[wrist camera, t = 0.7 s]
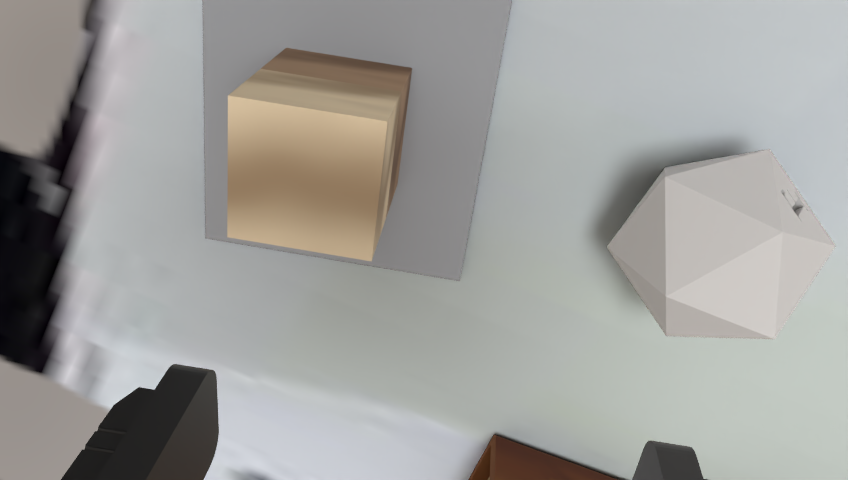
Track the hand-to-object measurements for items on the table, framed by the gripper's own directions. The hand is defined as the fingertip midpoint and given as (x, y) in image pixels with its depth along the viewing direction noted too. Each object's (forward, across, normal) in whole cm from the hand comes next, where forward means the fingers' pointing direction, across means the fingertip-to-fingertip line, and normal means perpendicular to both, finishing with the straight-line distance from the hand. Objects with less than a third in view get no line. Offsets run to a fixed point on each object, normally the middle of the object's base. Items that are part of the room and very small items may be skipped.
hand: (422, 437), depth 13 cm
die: (+24, -12, +5) cm, 27 cm away
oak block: (+19, +6, +2) cm, 20 cm away
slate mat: (+23, +6, +3) cm, 24 cm away
